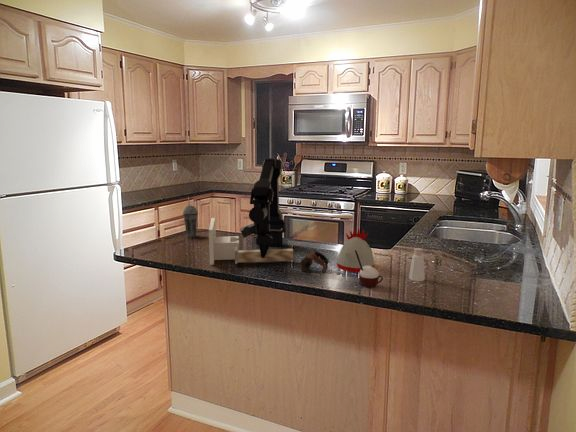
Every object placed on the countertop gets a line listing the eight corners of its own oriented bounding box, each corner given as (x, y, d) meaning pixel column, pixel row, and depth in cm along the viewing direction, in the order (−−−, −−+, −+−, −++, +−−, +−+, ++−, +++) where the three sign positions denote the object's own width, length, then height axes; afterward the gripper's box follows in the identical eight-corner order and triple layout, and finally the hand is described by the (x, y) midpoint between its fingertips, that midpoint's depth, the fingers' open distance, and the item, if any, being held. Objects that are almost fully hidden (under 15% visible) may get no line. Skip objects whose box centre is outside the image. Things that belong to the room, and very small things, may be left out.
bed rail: (291, 257, 170) (291, 245, 169) (294, 261, 163) (294, 249, 162) (235, 259, 167) (234, 246, 166) (235, 263, 160) (234, 251, 159)
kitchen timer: (371, 273, 152) (373, 233, 150) (334, 270, 156) (335, 231, 154) (375, 263, 166) (376, 226, 163) (340, 260, 169) (341, 223, 167)
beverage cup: (201, 235, 211) (200, 196, 208) (192, 238, 205) (191, 198, 201) (190, 234, 214) (188, 195, 211) (180, 237, 208) (179, 197, 204)
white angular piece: (238, 248, 187) (238, 217, 185) (239, 263, 164) (239, 228, 161) (212, 248, 186) (211, 217, 183) (209, 264, 162) (208, 229, 160)
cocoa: (382, 285, 141) (386, 251, 139) (379, 291, 136) (383, 255, 134) (354, 280, 145) (357, 247, 143) (350, 285, 139) (353, 250, 137)
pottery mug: (307, 266, 163) (318, 249, 161) (324, 281, 158) (335, 264, 156) (289, 265, 153) (301, 247, 151) (306, 282, 148) (319, 263, 146)
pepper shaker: (418, 282, 143) (420, 251, 141) (405, 278, 147) (407, 248, 145) (428, 279, 146) (430, 249, 144) (415, 275, 150) (416, 245, 148)
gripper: (240, 213, 170) (241, 251, 173) (241, 223, 152) (242, 264, 154) (268, 213, 171) (268, 250, 174) (272, 222, 153) (272, 263, 156)
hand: (262, 256), depth 165 cm, fingers closed on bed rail, 3 cm apart
